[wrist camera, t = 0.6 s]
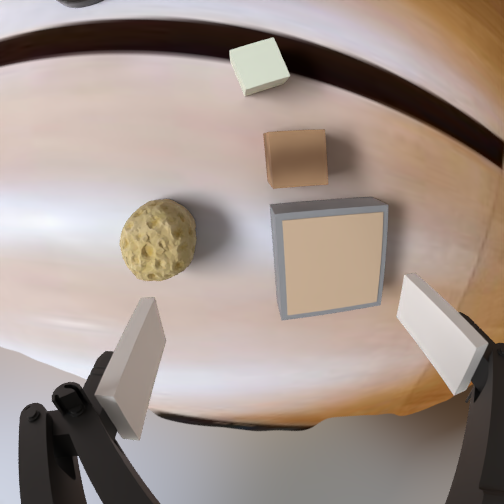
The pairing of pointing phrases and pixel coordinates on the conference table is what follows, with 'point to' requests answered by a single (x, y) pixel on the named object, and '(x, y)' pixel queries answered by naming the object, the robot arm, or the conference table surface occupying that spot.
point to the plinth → (328, 255)
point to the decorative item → (158, 240)
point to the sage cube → (259, 66)
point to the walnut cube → (296, 158)
